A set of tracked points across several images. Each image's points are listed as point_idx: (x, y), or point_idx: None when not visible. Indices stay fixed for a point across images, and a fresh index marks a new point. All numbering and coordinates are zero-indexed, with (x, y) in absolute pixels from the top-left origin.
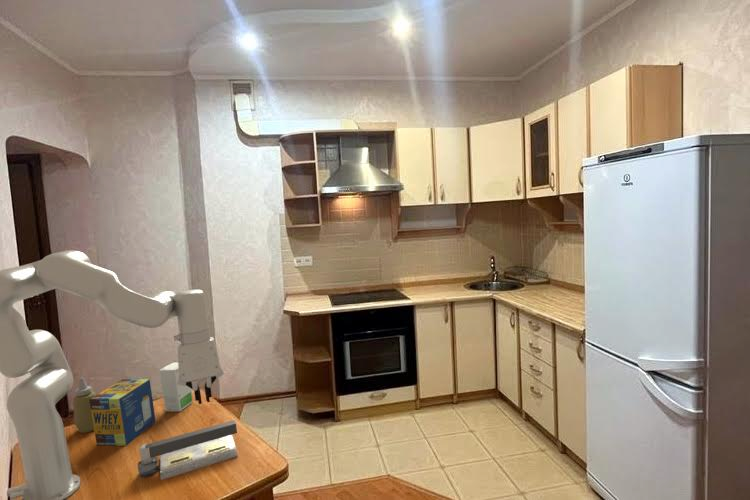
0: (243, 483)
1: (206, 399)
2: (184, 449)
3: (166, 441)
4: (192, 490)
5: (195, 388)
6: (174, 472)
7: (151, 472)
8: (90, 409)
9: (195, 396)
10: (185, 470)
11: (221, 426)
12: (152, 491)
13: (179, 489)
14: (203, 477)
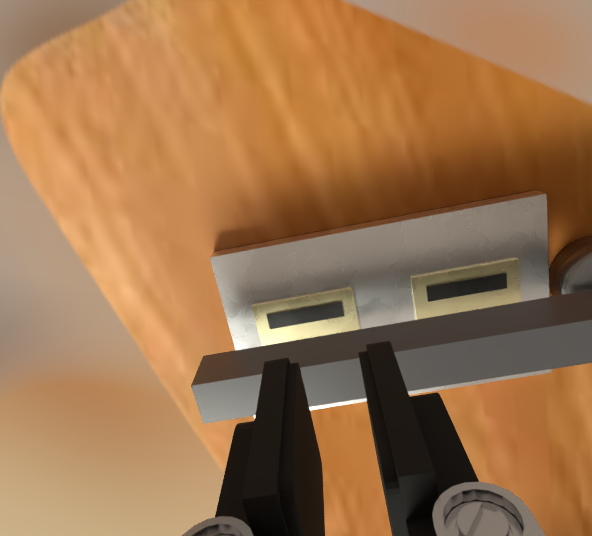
0: (159, 10)
1: (303, 396)
2: None
3: (563, 339)
4: (393, 46)
5: (477, 527)
6: (484, 204)
7: (585, 244)
8: None
9: (448, 427)
10: (435, 211)
11: None
12: (570, 112)
13: (452, 79)
14: (352, 138)
